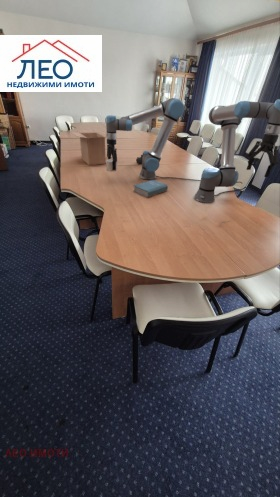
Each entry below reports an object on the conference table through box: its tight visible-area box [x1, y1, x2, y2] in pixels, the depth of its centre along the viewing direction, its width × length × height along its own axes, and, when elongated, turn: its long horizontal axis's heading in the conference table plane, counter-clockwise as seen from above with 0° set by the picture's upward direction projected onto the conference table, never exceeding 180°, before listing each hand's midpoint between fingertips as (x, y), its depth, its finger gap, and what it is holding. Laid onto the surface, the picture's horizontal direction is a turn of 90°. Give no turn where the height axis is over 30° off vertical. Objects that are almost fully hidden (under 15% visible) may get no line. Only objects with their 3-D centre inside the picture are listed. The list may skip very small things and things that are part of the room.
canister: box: [105, 158, 118, 172], centre depth 183 cm, size 9×9×8 cm
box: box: [70, 129, 107, 166], centre depth 229 cm, size 44×36×27 cm
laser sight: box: [135, 154, 143, 165], centre depth 237 cm, size 10×22×10 cm, turn 78°
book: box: [133, 179, 169, 198], centre depth 177 cm, size 23×16×5 cm
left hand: (111, 168), depth 185 cm, fingers closed on canister, 9 cm apart
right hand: (256, 173), depth 132 cm, fingers open, 13 cm apart
